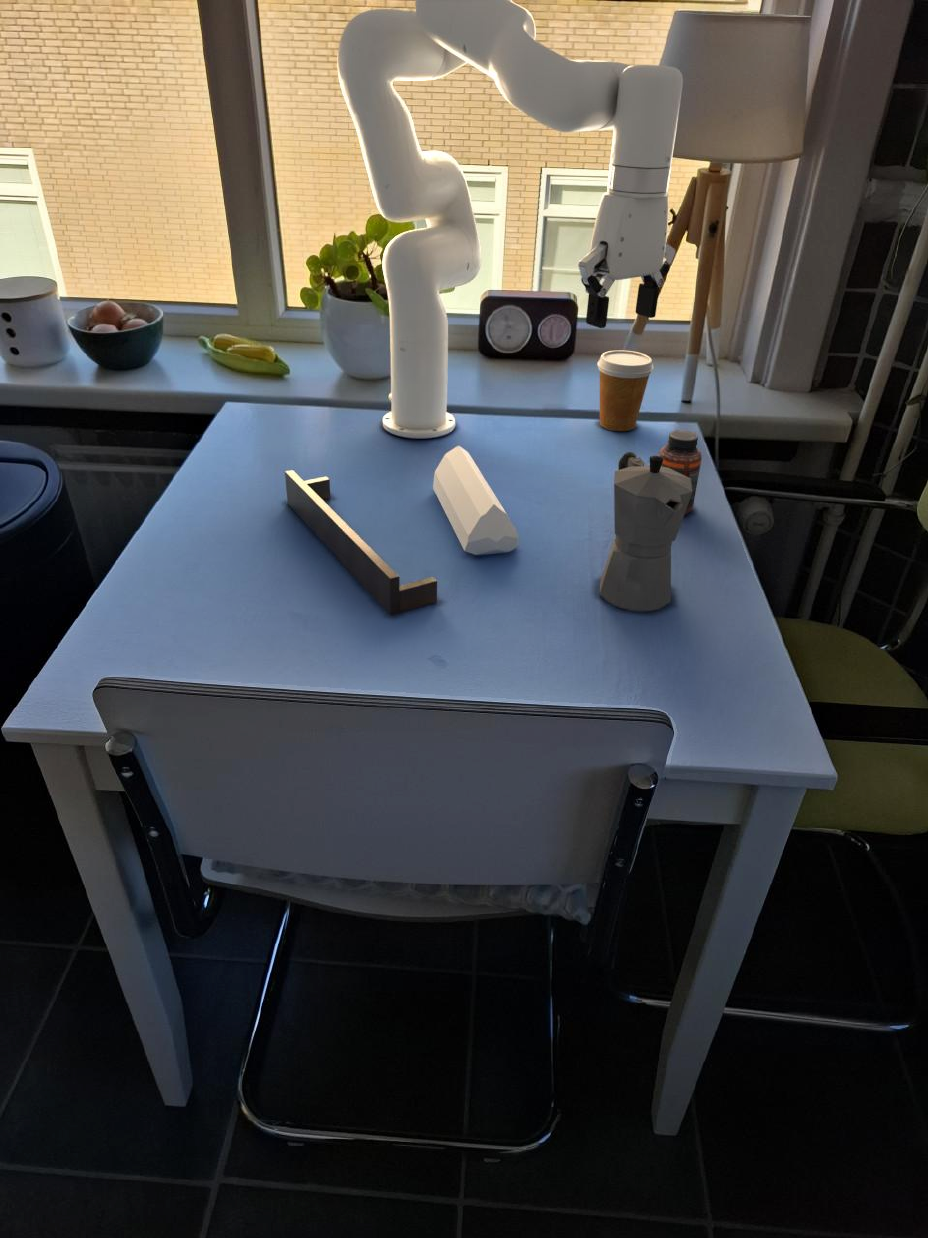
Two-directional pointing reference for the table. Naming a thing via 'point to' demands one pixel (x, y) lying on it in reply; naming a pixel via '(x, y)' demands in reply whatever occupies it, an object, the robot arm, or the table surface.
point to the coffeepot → (644, 533)
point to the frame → (355, 548)
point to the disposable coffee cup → (622, 388)
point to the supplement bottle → (683, 458)
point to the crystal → (472, 506)
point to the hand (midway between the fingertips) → (620, 320)
